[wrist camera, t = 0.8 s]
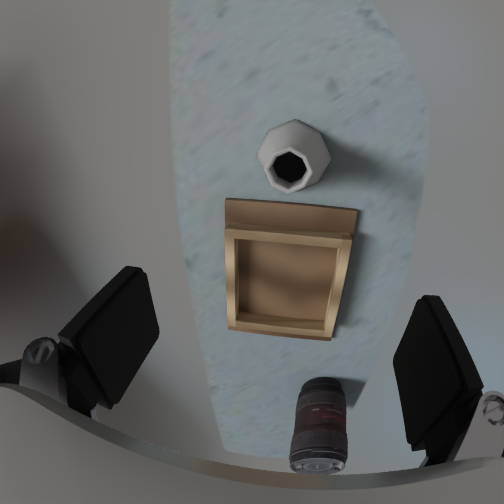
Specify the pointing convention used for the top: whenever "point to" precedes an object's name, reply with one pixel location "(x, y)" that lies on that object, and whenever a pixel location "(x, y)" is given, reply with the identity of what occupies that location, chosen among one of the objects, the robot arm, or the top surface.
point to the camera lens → (320, 429)
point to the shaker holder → (286, 266)
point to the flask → (293, 156)
